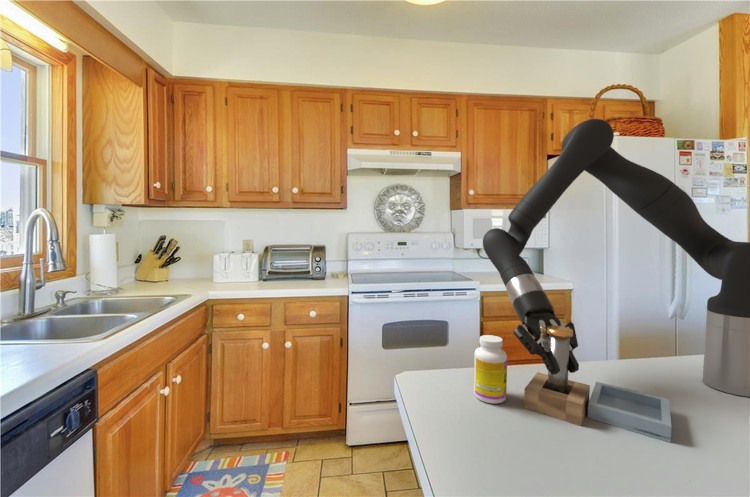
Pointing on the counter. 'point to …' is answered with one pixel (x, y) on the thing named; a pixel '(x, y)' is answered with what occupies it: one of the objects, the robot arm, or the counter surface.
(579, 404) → the socket block
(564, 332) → the pin
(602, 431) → the counter surface
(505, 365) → the supplement bottle
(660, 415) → the tray
